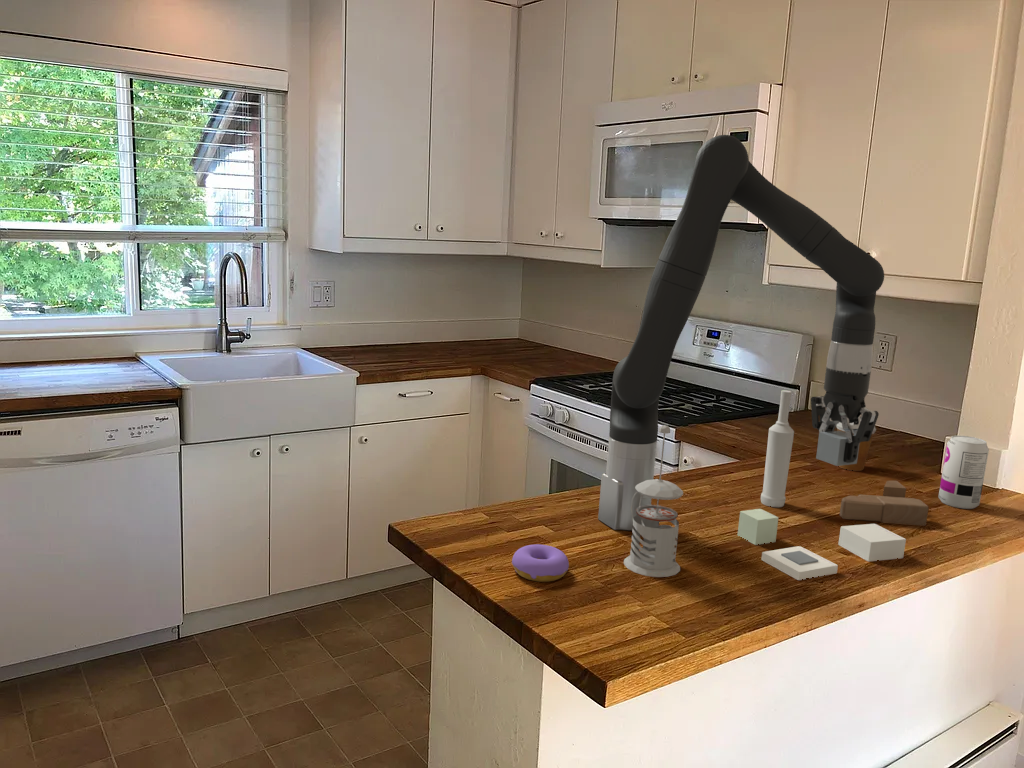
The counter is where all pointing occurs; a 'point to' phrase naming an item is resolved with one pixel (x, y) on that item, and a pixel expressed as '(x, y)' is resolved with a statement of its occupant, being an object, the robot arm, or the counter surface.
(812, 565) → the plate
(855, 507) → the wooden block set
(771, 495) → the bottle
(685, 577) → the counter surface
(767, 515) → the sage cube
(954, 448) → the supplement can
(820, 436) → the slate cube
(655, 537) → the french press
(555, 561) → the donut
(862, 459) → the disposable coffee cup
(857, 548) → the base block
